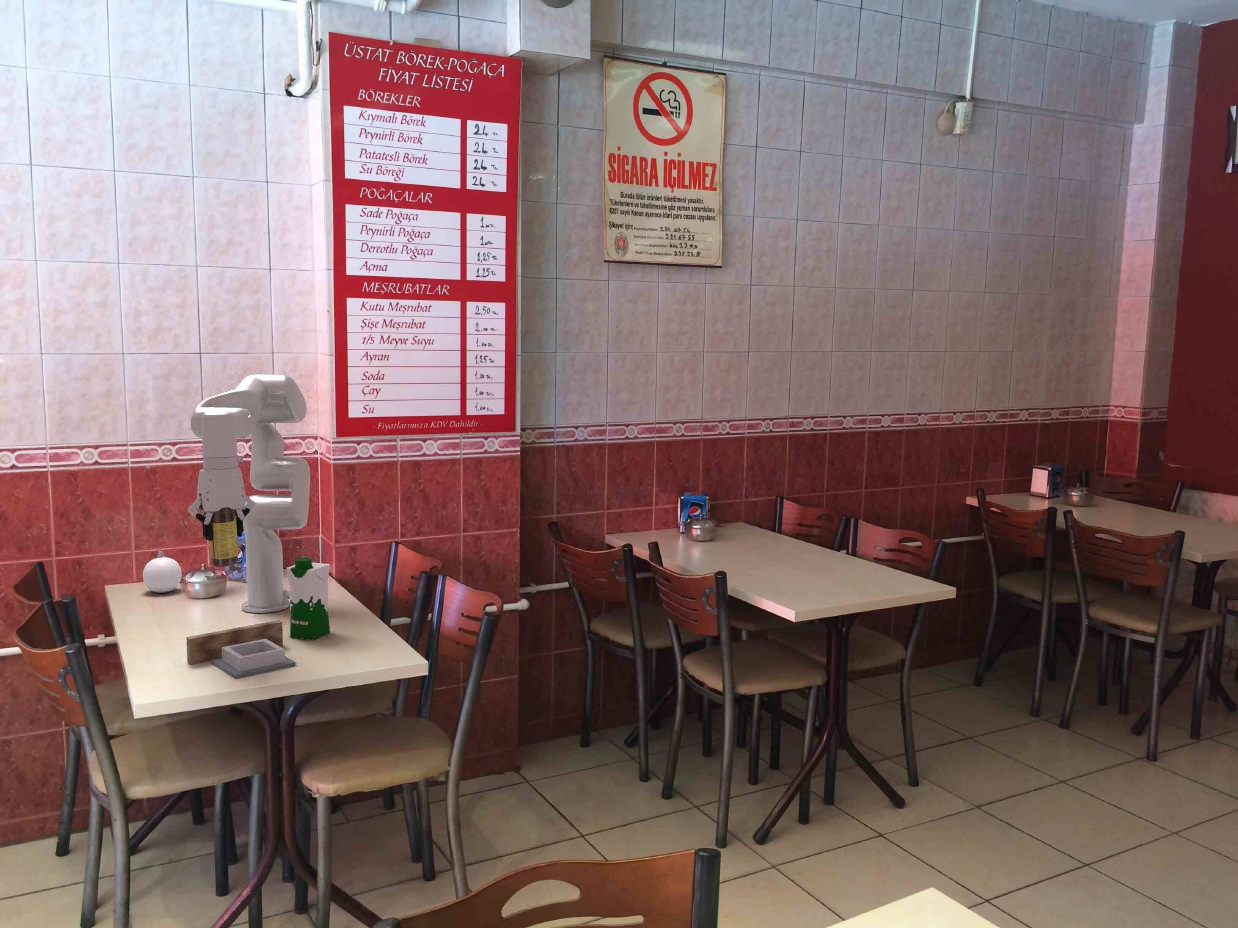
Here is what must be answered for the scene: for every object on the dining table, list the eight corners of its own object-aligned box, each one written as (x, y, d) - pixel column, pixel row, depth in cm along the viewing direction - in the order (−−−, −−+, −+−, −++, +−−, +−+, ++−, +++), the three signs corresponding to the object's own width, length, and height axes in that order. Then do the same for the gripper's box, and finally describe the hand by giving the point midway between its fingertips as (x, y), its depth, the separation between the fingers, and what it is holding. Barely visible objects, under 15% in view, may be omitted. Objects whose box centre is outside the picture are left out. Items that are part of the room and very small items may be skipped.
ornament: (151, 587, 297) (149, 548, 295) (186, 587, 298) (185, 547, 296) (138, 596, 286) (136, 555, 285) (175, 596, 288) (173, 555, 286)
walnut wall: (279, 643, 245) (278, 619, 244) (283, 645, 243) (282, 621, 243) (187, 662, 230) (186, 636, 229) (190, 664, 229) (189, 638, 228)
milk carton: (284, 638, 250) (282, 559, 247) (307, 628, 258) (305, 552, 256) (314, 642, 247) (312, 562, 244) (335, 632, 255) (334, 555, 253)
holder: (270, 650, 239) (270, 635, 239) (295, 665, 229) (295, 649, 229) (211, 662, 230) (210, 646, 229) (235, 678, 220) (234, 662, 219)
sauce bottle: (244, 563, 240) (241, 482, 238) (223, 568, 235) (219, 485, 232) (225, 560, 243) (222, 479, 241) (204, 565, 238) (201, 483, 235)
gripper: (250, 458, 244) (252, 530, 247) (177, 464, 233) (180, 540, 235) (262, 462, 239) (265, 535, 241) (188, 468, 227) (192, 545, 230)
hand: (223, 537), depth 238 cm, fingers closed on sauce bottle, 6 cm apart
